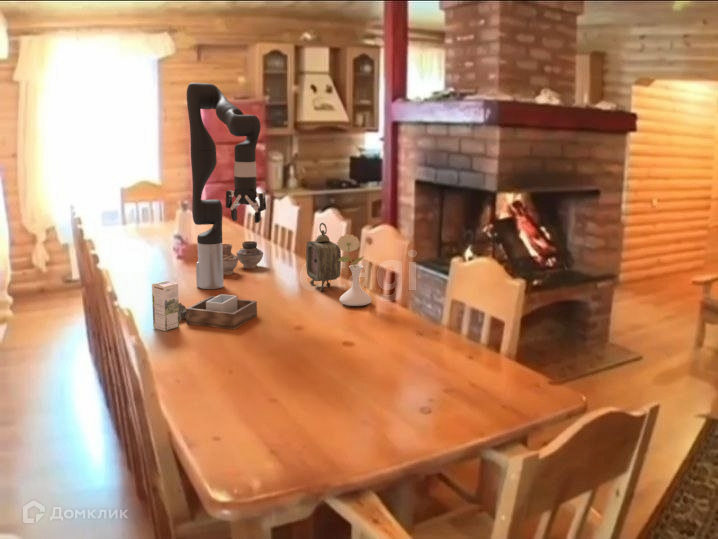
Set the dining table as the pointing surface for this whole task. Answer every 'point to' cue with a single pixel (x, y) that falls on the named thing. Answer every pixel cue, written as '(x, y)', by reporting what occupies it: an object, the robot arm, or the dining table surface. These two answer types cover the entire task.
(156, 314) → the syrup box
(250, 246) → the pottery
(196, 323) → the walnut crate
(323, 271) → the tabletop clock
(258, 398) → the dining table surface
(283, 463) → the dining table surface
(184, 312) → the egg carton
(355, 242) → the flower in vase
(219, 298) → the small crate
